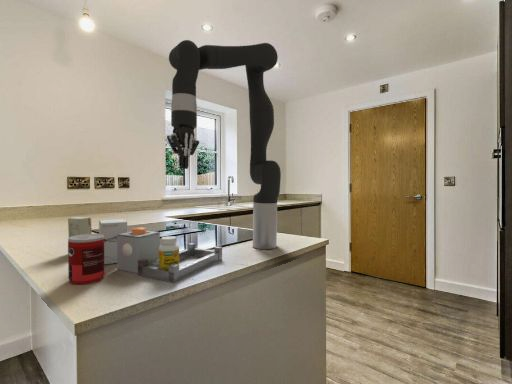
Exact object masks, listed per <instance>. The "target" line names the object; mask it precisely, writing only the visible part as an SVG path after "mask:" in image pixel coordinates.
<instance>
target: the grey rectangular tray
mask: <svg viewBox="0 0 512 384" xmlns="http://www.w3.org/2000/svg"><path fill="white" fill-rule="evenodd" d="M191 257H196V258H198V259H196V260H193V261H191V262H189V263H187V264H186V263H185V264H184V265H182V266H180V264H179V265H176V264H172V265H170V266H169V269H164V268H159V259H157V260H154V261H151V262H148V259H140V260H138V273H137V276H141V277H145V278H149V279H155V280H158V281H165V282H170V283H177V282H178V281H180V280H183V279H184V278H186V277H189V276H190V275H192V274H194V273H197V272H198V271H200V270H202V269H205V268H206V267H209V266H211V265H213V264H214V263H217V262H218V261H219V262H220V261H222V259H223V246H215V247H214V248H213V249H208V248H200V247H196V242H195V243H193V242H190V243H187V248H186V249H183V250H179V262H181V261H184V260H187V259H189V258H191Z"/></svg>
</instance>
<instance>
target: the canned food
mask: <svg viewBox="0 0 512 384" xmlns="http://www.w3.org/2000/svg"><path fill="white" fill-rule="evenodd" d="M67 239H68V240H67V254H68V256H67V260H68V261H67V263H68V281H69V283H70V284H71V285H72V284H73V285H77V286H78V285H79V286H80V285H89V284H93V283H97V282H100V281H101V280H103V279H104V277H105V264H104V235H101V234H99V233H92V234H82V235H75V236H71V237H69V236H68V238H67Z"/></svg>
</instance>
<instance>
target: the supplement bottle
mask: <svg viewBox="0 0 512 384" xmlns="http://www.w3.org/2000/svg"><path fill="white" fill-rule="evenodd" d="M160 238H161V239H160V242H161V244H160V247H159V268H164V269H169V266H170V265H172V264H176V265H179V266H180V261H179V251H180V247H179V245H178V244H177V237H176V236H172V235H171V236H163V237H160Z"/></svg>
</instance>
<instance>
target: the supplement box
mask: <svg viewBox="0 0 512 384" xmlns="http://www.w3.org/2000/svg"><path fill="white" fill-rule="evenodd" d="M126 232H128V221H127V220H126V219H125V218H119V219H116V218H115V219H99V221H98V234H101V235H104V265H110V264H118V262H117V234H121V233H126Z"/></svg>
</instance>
